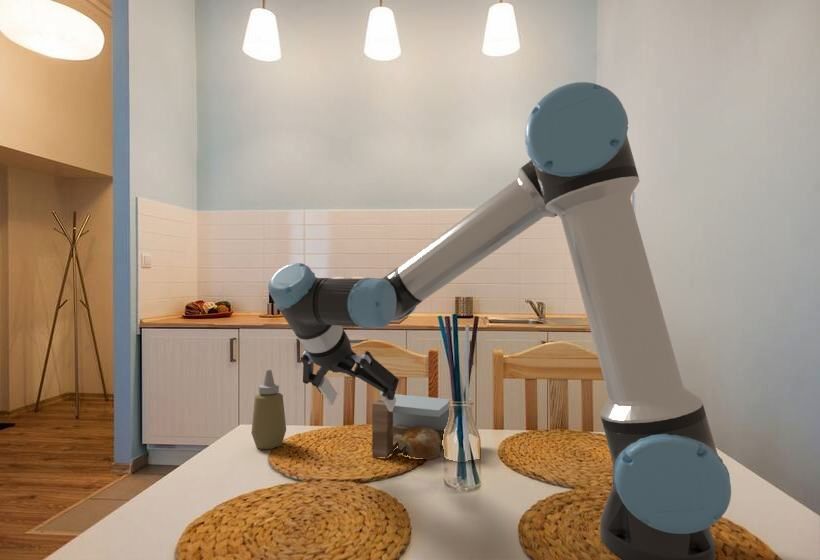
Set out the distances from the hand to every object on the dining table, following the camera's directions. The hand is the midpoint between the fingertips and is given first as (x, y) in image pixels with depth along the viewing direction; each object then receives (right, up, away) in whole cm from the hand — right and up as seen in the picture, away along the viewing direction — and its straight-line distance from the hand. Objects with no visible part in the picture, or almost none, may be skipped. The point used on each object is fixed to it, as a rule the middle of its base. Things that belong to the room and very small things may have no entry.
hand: (362, 402), depth 99 cm
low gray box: (+11, -14, +16) cm, 24 cm away
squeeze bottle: (-24, -14, +15) cm, 32 cm away
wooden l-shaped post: (+10, -14, +12) cm, 21 cm away
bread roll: (+12, -14, +10) cm, 22 cm away
